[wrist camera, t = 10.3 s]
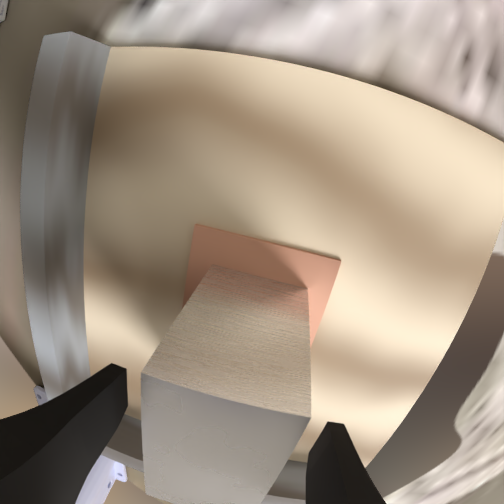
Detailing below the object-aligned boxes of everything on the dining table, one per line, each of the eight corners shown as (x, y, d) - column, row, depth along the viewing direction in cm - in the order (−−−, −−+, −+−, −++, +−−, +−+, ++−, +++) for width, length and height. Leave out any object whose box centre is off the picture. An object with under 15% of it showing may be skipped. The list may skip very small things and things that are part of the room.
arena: (354, 470, 18) (357, 512, 15) (84, 399, 19) (58, 433, 16) (510, 150, 11) (561, 158, 7) (94, 51, 12) (44, 35, 8)
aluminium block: (307, 288, 13) (311, 417, 7) (267, 404, 16) (248, 521, 9) (212, 264, 13) (140, 372, 7) (192, 385, 16) (145, 493, 9)
